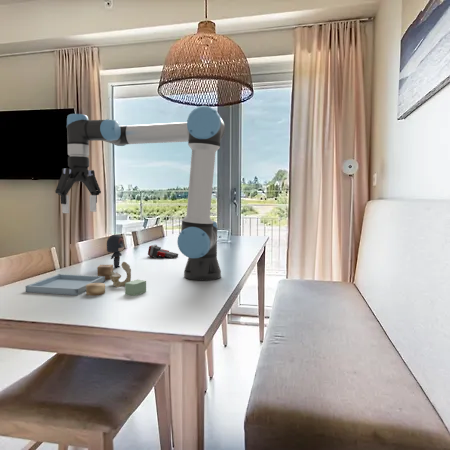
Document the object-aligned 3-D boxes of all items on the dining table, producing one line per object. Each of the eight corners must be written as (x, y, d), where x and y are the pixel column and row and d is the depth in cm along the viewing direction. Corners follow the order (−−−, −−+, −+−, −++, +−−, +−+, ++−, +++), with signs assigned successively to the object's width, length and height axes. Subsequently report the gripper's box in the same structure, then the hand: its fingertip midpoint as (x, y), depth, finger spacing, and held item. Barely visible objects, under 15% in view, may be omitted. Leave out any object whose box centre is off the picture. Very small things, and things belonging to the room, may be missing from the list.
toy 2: (177, 261, 199) (151, 254, 201) (179, 249, 198) (153, 243, 200) (173, 264, 190) (145, 257, 192) (175, 252, 190) (148, 245, 191)
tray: (104, 281, 140) (104, 276, 140) (77, 295, 122) (77, 289, 122) (59, 279, 143) (58, 273, 143) (25, 291, 125) (25, 286, 124)
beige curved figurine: (100, 283, 132) (109, 257, 136) (108, 288, 137) (117, 263, 141) (121, 286, 129) (130, 260, 134) (129, 292, 135) (137, 266, 139)
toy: (118, 269, 161) (118, 236, 160) (102, 268, 163) (102, 235, 162) (128, 266, 170) (128, 233, 169) (112, 265, 172) (112, 233, 171)
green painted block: (146, 292, 127) (146, 280, 127) (134, 296, 122) (134, 284, 122) (137, 290, 129) (137, 279, 129) (125, 294, 124) (125, 282, 124)
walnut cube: (113, 276, 149) (113, 264, 149) (110, 279, 144) (110, 267, 144) (100, 276, 148) (100, 264, 148) (97, 279, 143) (97, 267, 143)
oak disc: (108, 291, 127) (108, 283, 127) (99, 296, 121) (99, 287, 121) (91, 290, 128) (91, 282, 128) (82, 295, 122) (82, 286, 122)
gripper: (95, 159, 153) (96, 210, 154) (43, 153, 130) (45, 213, 132) (109, 159, 150) (110, 211, 151) (58, 152, 127) (60, 214, 129)
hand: (80, 212), depth 142 cm, fingers open, 13 cm apart
